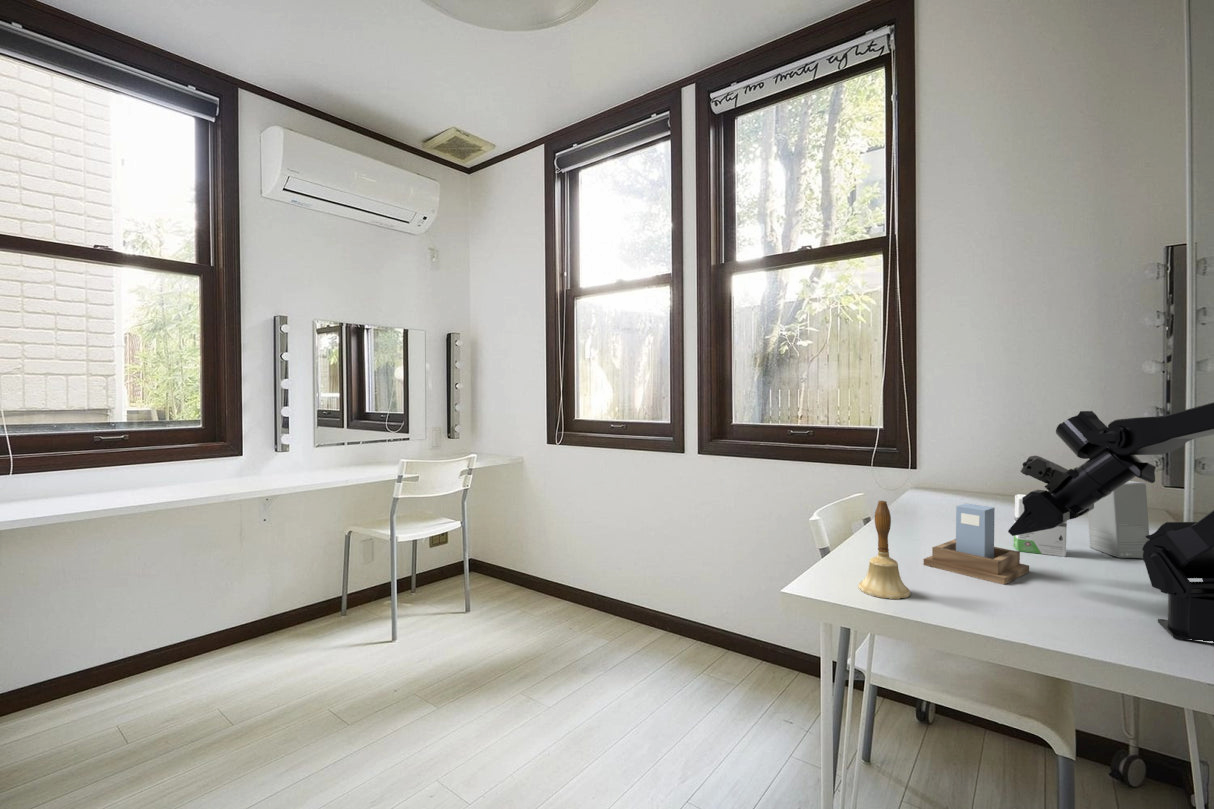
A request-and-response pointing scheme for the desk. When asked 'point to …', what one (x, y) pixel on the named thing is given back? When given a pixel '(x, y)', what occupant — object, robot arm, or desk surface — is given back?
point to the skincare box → (1120, 521)
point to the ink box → (1040, 536)
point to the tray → (978, 563)
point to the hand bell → (883, 563)
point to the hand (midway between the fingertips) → (1019, 529)
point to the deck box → (975, 530)
